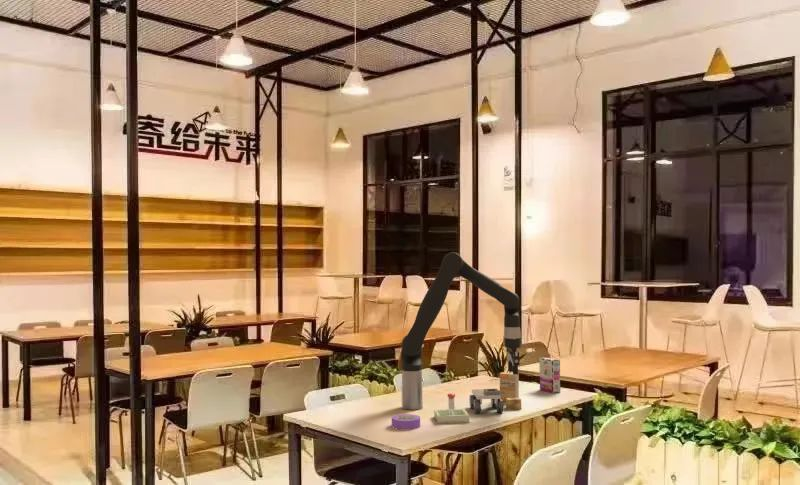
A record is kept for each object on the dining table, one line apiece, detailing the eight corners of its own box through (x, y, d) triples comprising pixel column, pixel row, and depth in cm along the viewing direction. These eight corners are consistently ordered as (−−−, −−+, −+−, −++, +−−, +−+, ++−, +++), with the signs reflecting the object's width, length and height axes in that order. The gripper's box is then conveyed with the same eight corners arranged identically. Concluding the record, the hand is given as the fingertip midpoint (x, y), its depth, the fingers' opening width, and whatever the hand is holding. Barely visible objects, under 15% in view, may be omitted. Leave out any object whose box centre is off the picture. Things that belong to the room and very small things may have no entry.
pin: (448, 418, 283) (448, 395, 283) (447, 416, 286) (446, 393, 287) (456, 418, 283) (455, 395, 284) (454, 416, 287) (454, 393, 287)
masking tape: (426, 426, 276) (426, 416, 276) (407, 431, 267) (406, 422, 267) (405, 421, 283) (404, 412, 284) (385, 427, 275) (385, 417, 275)
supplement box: (499, 401, 320) (498, 373, 321) (502, 399, 325) (502, 371, 325) (516, 402, 316) (515, 374, 317) (519, 400, 321) (518, 372, 321)
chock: (508, 409, 302) (508, 399, 302) (506, 407, 306) (505, 397, 306) (521, 409, 303) (521, 399, 303) (519, 407, 307) (518, 397, 307)
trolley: (476, 414, 293) (476, 392, 293) (469, 406, 309) (469, 385, 309) (503, 413, 294) (503, 392, 294) (495, 406, 310) (495, 385, 310)
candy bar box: (561, 392, 339) (560, 359, 339) (553, 393, 336) (552, 360, 337) (547, 388, 349) (546, 356, 349) (539, 389, 347) (538, 357, 347)
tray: (438, 423, 278) (438, 416, 278) (434, 416, 290) (434, 409, 290) (469, 422, 279) (469, 415, 279) (464, 415, 291) (464, 408, 291)
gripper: (500, 335, 312) (501, 370, 311) (507, 338, 298) (508, 375, 297) (516, 334, 312) (517, 370, 312) (524, 338, 298) (525, 375, 298)
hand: (513, 372), depth 305 cm, fingers open, 8 cm apart
